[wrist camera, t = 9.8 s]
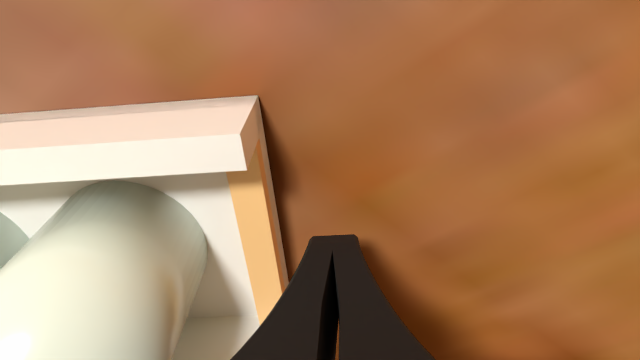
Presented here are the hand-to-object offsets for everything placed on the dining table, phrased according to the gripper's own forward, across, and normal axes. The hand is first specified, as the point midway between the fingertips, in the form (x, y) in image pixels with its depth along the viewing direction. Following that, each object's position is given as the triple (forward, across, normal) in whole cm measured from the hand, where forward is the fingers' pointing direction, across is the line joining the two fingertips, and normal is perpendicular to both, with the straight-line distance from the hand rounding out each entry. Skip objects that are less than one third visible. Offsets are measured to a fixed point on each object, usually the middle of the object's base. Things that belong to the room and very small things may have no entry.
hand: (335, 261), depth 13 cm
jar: (+1, +7, 0) cm, 7 cm away
